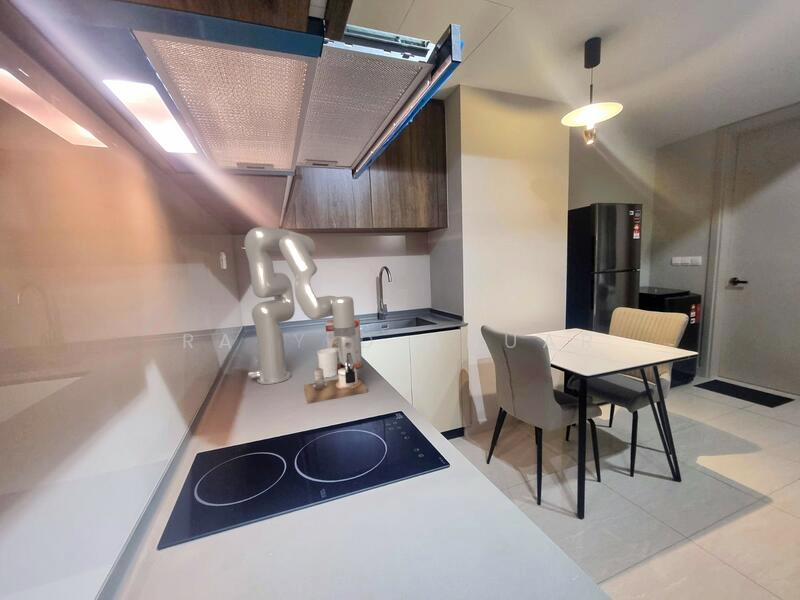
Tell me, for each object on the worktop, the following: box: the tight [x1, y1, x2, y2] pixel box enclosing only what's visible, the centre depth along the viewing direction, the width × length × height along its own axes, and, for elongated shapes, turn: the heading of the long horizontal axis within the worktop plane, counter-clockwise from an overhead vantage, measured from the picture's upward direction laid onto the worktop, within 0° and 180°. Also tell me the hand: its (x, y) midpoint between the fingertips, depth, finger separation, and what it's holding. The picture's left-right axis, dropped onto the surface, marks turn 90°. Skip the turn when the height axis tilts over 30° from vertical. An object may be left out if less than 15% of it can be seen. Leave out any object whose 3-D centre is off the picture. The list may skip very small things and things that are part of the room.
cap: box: [337, 367, 358, 387], centre depth 115 cm, size 7×7×5 cm
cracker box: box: [325, 318, 363, 370], centre depth 138 cm, size 14×6×21 cm, turn 92°
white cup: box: [316, 348, 338, 379], centre depth 130 cm, size 8×8×10 cm
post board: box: [303, 367, 368, 405], centre depth 113 cm, size 20×14×8 cm
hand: (347, 378), depth 115 cm, fingers open, 9 cm apart
